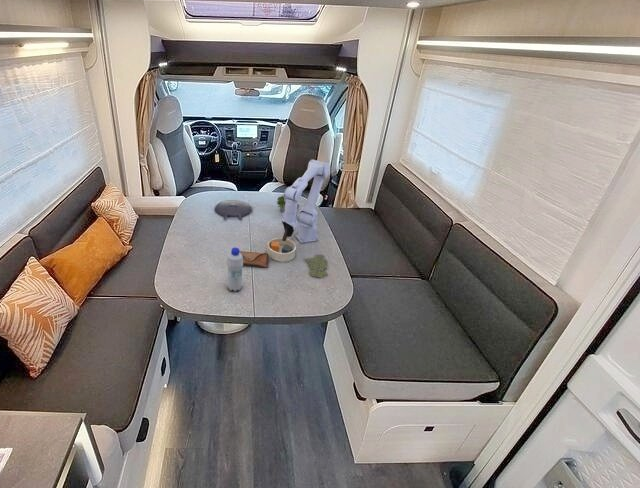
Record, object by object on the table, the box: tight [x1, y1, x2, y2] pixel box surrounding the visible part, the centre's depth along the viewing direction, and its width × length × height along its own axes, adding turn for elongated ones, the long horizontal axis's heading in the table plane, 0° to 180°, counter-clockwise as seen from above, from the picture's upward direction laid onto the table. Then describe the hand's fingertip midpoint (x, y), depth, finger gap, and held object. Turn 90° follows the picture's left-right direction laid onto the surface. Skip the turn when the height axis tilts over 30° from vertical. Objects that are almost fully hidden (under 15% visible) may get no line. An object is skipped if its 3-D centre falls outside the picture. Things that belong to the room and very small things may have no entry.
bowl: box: [266, 237, 297, 263], centre depth 158 cm, size 14×14×5 cm
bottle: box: [226, 247, 243, 292], centre depth 131 cm, size 7×7×20 cm
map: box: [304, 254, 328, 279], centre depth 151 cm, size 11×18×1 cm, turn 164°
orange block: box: [271, 242, 279, 252], centre depth 160 cm, size 4×4×4 cm
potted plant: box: [276, 194, 300, 214], centre depth 198 cm, size 12×13×15 cm
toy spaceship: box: [214, 199, 253, 221], centre depth 200 cm, size 28×24×3 cm
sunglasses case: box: [240, 250, 269, 269], centre depth 152 cm, size 18×7×7 cm
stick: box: [281, 229, 288, 241], centre depth 155 cm, size 2×2×9 cm
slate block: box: [282, 245, 292, 253], centre depth 157 cm, size 4×4×4 cm
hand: (288, 235), depth 156 cm, fingers closed on stick, 2 cm apart
